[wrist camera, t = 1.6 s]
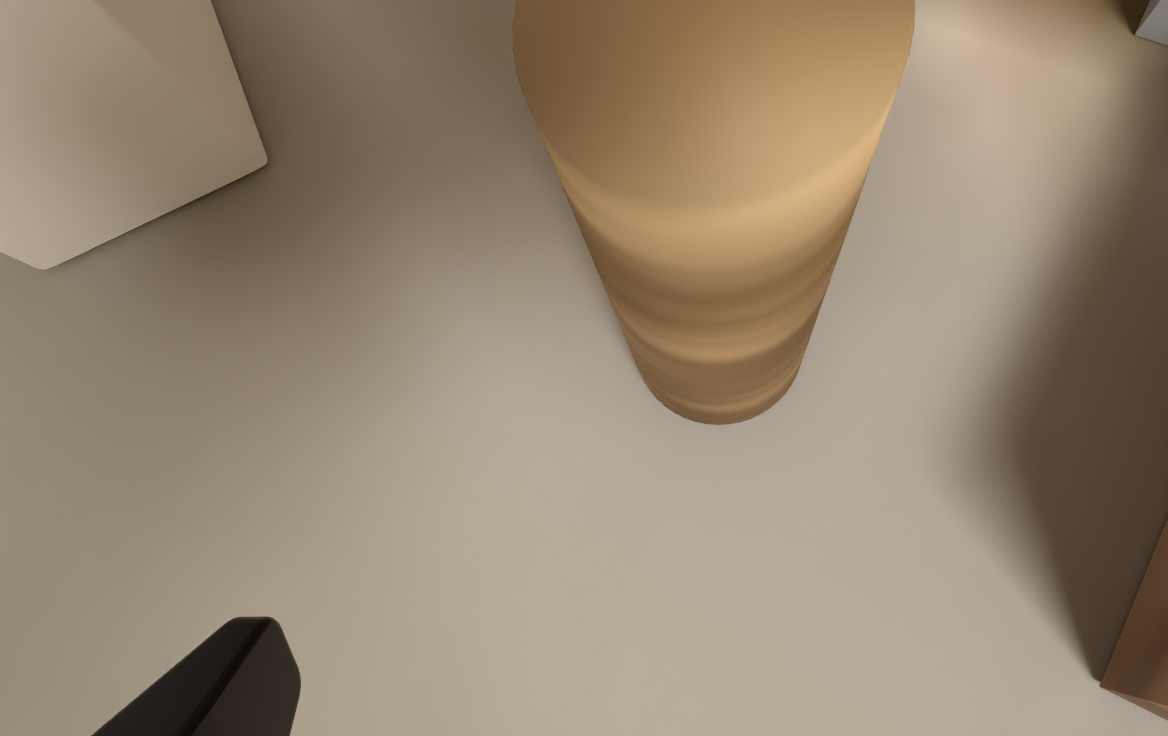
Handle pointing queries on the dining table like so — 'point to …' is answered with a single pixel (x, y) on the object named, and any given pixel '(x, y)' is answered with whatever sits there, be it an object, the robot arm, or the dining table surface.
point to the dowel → (713, 170)
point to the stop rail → (1155, 22)
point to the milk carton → (112, 120)
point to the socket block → (1145, 641)
